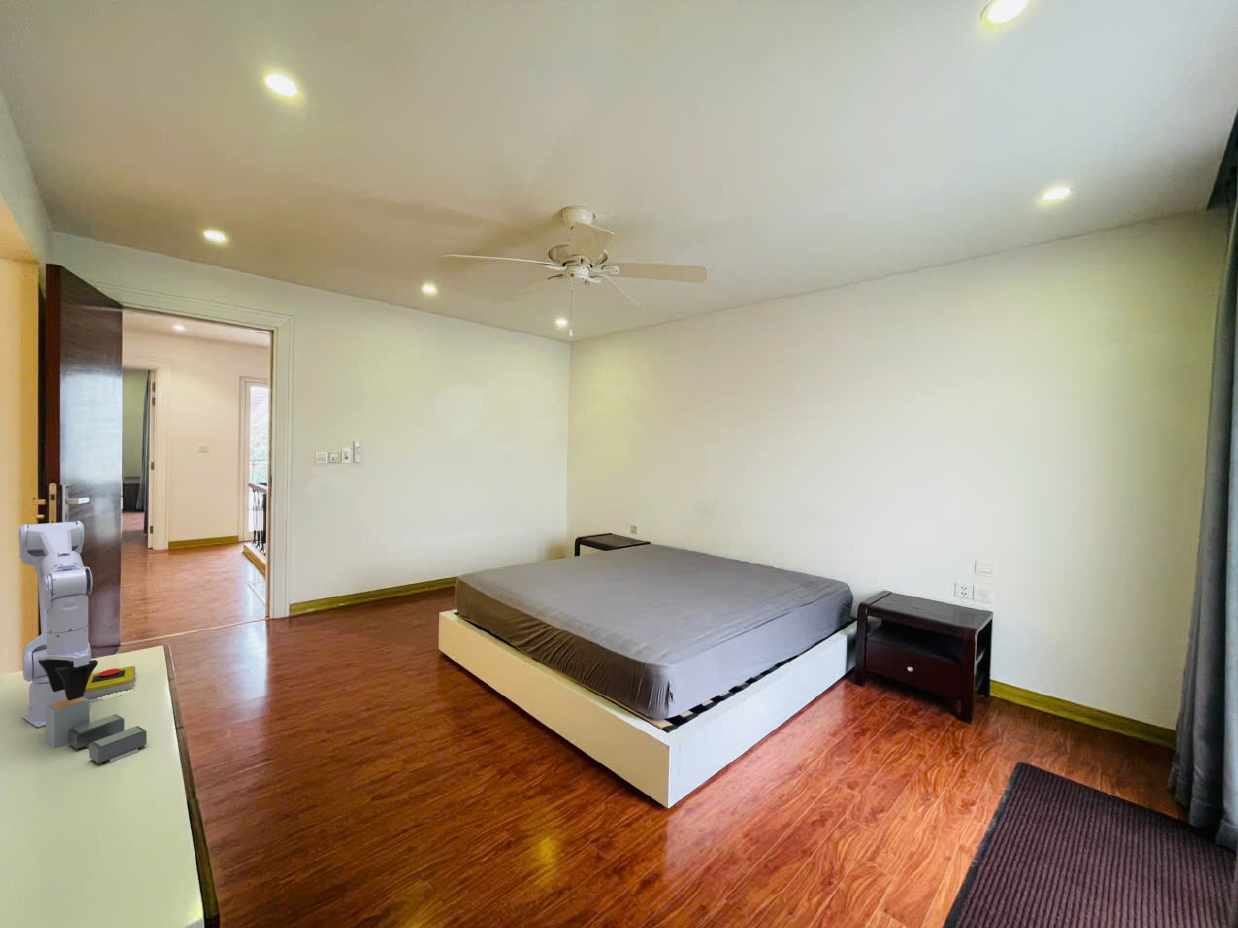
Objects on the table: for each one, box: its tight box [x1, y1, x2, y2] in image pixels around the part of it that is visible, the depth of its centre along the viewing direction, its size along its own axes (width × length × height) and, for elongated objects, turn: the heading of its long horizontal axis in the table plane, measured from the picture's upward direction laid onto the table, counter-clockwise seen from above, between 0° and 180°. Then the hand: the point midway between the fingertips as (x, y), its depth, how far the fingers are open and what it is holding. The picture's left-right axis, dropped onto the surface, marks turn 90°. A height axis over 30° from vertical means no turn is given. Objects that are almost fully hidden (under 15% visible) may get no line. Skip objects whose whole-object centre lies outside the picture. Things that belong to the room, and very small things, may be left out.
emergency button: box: [83, 665, 137, 704], centre depth 124 cm, size 9×4×15 cm
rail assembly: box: [68, 713, 148, 764], centre depth 99 cm, size 15×7×4 cm, turn 64°
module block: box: [45, 697, 91, 749], centre depth 102 cm, size 4×5×8 cm
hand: (67, 694), depth 102 cm, fingers open, 7 cm apart
